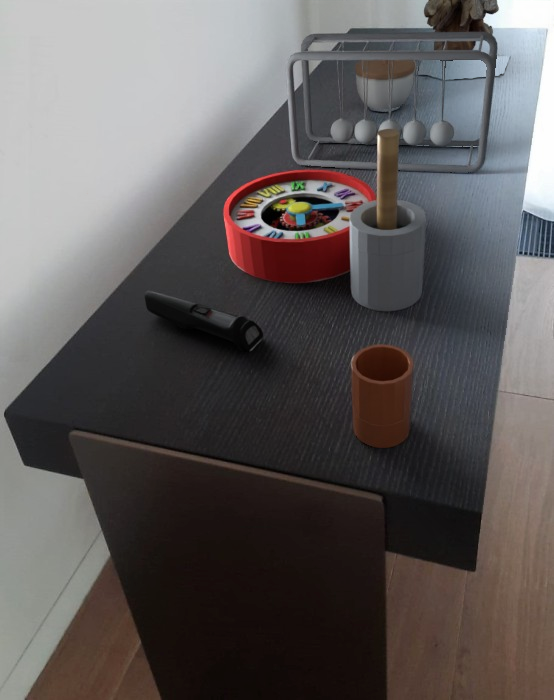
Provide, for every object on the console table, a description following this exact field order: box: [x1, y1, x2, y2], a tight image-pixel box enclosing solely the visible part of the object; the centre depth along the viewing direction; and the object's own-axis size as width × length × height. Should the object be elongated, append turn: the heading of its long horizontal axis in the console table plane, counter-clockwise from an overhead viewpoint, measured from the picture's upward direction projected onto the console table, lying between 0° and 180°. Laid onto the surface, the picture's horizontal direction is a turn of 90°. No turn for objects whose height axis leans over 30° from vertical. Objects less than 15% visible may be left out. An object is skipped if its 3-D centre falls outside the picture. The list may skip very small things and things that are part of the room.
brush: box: [376, 129, 400, 230], centre depth 78 cm, size 3×3×19 cm
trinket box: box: [354, 60, 415, 110], centre depth 128 cm, size 11×11×9 cm
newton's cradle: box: [285, 31, 499, 174], centre depth 108 cm, size 30×10×18 cm, turn 74°
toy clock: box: [222, 169, 377, 284], centre depth 93 cm, size 20×6×20 cm
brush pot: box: [350, 343, 415, 449], centre depth 64 cm, size 5×5×8 cm
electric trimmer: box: [144, 290, 264, 352], centre depth 81 cm, size 4×16×3 cm, turn 57°
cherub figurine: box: [423, 0, 500, 61], centre depth 140 cm, size 18×18×18 cm
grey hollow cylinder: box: [349, 199, 427, 312], centre depth 81 cm, size 8×8×10 cm
